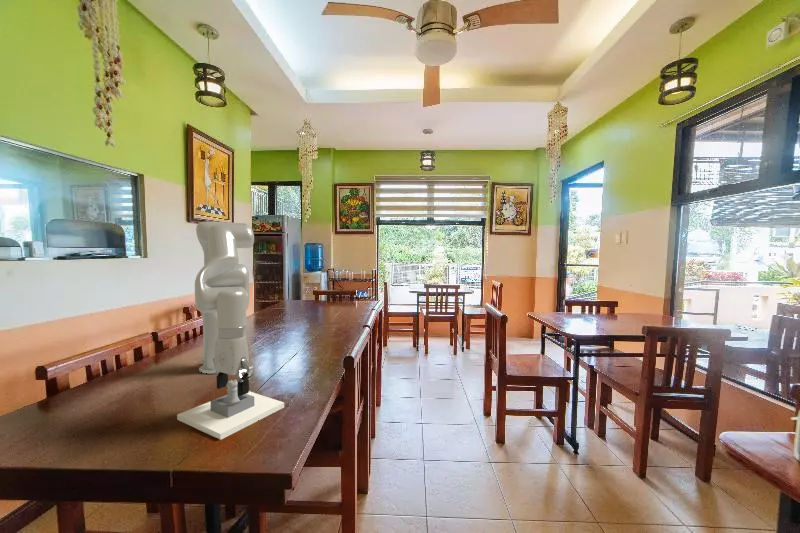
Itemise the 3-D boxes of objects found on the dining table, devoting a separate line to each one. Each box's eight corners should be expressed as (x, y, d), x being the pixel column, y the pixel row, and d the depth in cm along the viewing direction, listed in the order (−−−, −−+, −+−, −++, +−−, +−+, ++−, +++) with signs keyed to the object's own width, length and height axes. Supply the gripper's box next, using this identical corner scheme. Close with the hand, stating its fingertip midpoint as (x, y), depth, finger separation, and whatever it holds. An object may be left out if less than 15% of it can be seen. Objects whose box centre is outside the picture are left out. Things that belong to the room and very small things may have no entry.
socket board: (177, 419, 91) (177, 404, 91) (242, 393, 109) (242, 380, 108) (220, 439, 81) (220, 423, 81) (284, 407, 99) (284, 393, 99)
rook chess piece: (244, 405, 97) (244, 379, 96) (232, 412, 92) (232, 384, 92) (232, 403, 98) (232, 377, 98) (220, 410, 94) (219, 382, 93)
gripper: (201, 331, 95) (202, 389, 96) (239, 339, 87) (239, 402, 87) (226, 326, 102) (226, 380, 102) (263, 333, 93) (263, 392, 94)
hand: (232, 390), depth 95 cm, fingers open, 9 cm apart
